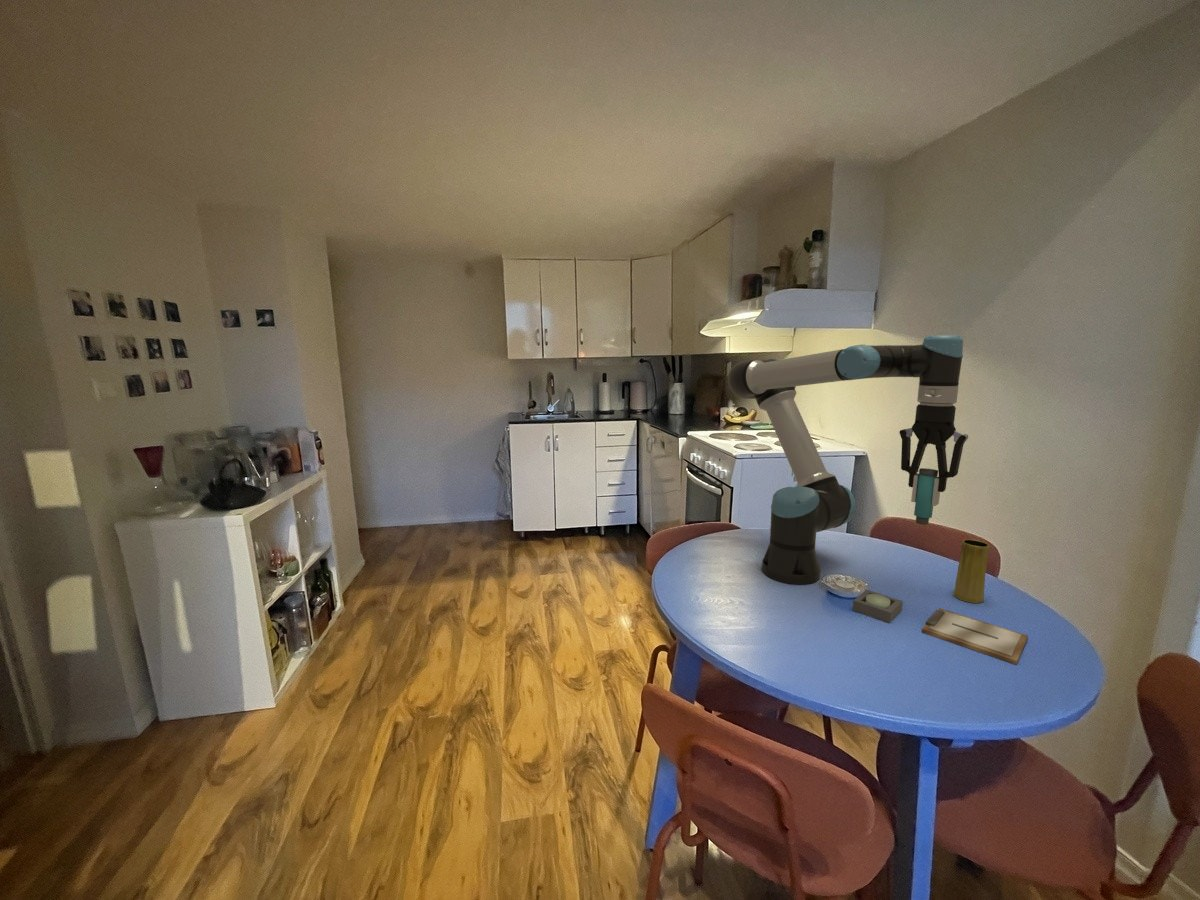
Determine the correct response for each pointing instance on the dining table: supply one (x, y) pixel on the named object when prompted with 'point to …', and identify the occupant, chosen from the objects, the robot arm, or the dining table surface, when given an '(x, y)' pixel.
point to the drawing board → (976, 635)
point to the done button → (878, 600)
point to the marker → (925, 495)
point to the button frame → (877, 607)
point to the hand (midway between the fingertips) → (924, 502)
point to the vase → (971, 571)
